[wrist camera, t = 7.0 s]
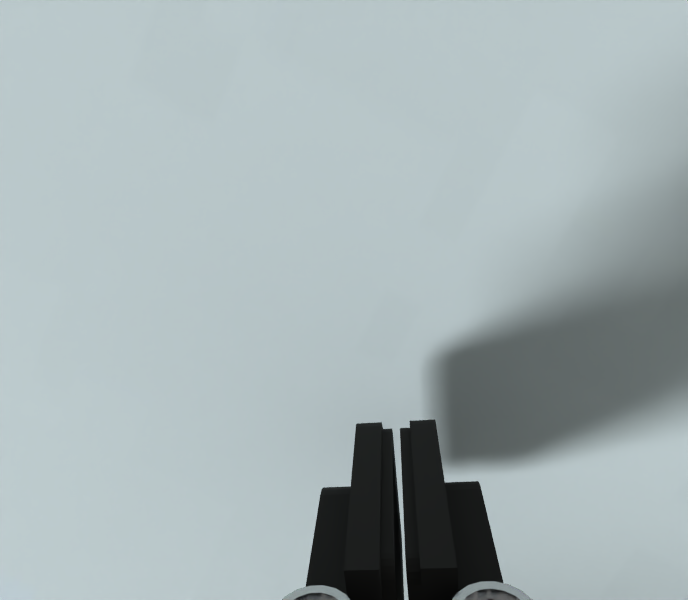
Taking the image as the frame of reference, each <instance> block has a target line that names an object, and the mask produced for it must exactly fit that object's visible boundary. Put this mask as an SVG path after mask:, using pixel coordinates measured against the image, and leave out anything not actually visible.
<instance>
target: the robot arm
mask: <svg viewBox="0 0 688 600" xmlns="http://www.w3.org/2000/svg"><path fill="white" fill-rule="evenodd" d="M400 438H401V461H402V485H403V508H404V532H405V555H406V572H407V585H408V597H409V600H532V599H531V598H530V597H529V596H527V595H526V594H525V593H524V592H523V591H521V590H519V589H517V588H515V587H513V586H511V585H509V584H504V583H503V580H502V575H501V571H500V567H499V563H498V559H497V554H496V550H495V546H494V542H493V538H492V533H491V529H490V525H489V521H488V517H487V512H486V508H485V504H484V500H483V496H482V491H481V487H480V484H479V482H478V481H476V482H451V483H445V482H444V476H443V469H442V462H441V456H440V449H439V442H438V435H437V429H436V422H435V420H419V421H410V428H400ZM282 600H404V588H403V560H402V538H401V524H400V513H399V501H398V490H397V478H396V467H395V455H394V443H393V432H392V429H383V427H382V422H381V423H361V424H356V433H355V445H354V456H353V468H352V479H351V487H329V488H323V489H322V491H321V495H320V501H319V507H318V514H317V520H316V526H315V532H314V539H313V545H312V551H311V557H310V564H309V570H308V576H307V582H306V587H304V588H300V589H297V590H295V591H294V592H292V593H290V594H288V595H287V596H285V597H284V598H283V599H282Z"/></svg>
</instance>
